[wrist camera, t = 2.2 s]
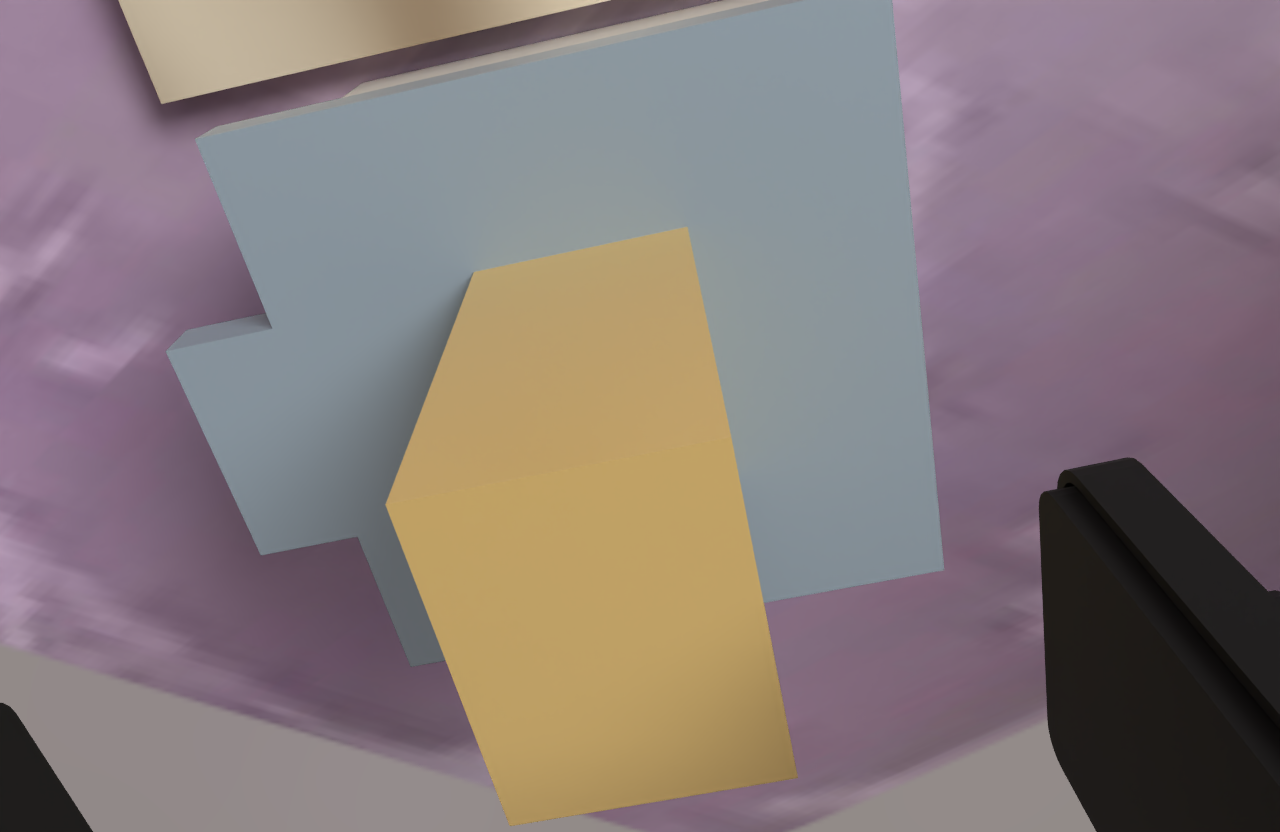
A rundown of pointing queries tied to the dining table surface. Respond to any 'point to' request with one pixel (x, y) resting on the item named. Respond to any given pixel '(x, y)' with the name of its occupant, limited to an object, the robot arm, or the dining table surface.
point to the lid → (591, 377)
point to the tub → (550, 45)
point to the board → (297, 34)
